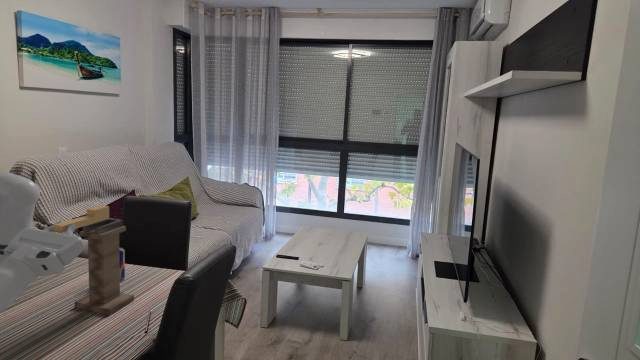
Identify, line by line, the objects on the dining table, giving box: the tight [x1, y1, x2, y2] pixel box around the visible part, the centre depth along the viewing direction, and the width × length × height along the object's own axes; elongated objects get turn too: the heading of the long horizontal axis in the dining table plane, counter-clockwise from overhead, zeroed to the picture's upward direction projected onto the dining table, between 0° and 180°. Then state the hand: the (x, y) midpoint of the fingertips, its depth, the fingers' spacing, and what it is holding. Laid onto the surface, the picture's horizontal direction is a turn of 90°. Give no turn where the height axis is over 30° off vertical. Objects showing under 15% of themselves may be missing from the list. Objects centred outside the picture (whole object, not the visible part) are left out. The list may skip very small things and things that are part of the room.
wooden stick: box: [52, 204, 110, 234], centre depth 124 cm, size 3×18×4 cm, turn 166°
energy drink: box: [119, 247, 126, 282], centre depth 156 cm, size 5×5×12 cm
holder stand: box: [74, 217, 135, 316], centre depth 136 cm, size 14×11×28 cm
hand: (67, 224), depth 119 cm, fingers closed on wooden stick, 3 cm apart
